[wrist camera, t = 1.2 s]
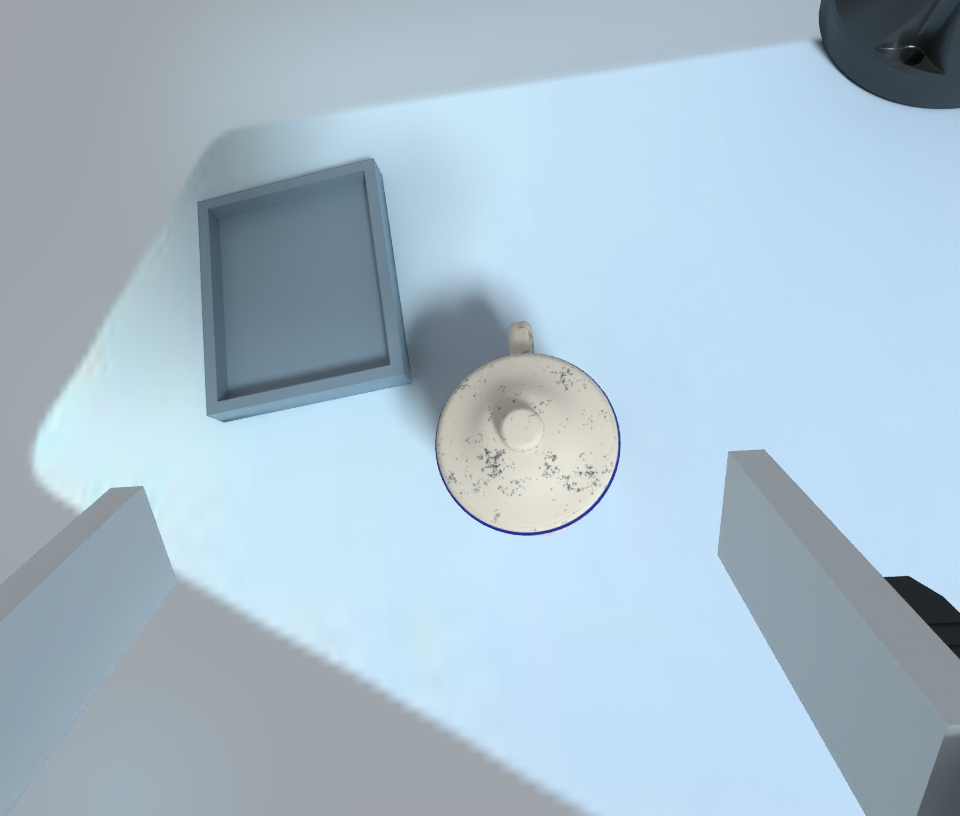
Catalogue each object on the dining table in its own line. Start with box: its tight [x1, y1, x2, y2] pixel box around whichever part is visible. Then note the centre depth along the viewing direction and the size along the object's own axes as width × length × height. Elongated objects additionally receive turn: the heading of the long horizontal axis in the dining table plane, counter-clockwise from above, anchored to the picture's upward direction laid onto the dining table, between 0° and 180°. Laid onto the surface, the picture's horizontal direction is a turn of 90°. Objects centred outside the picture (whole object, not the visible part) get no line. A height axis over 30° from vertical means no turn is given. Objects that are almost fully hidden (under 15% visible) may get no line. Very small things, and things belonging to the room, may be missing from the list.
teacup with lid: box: [435, 322, 621, 536], centre depth 32 cm, size 12×9×12 cm
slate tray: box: [198, 158, 412, 422], centre depth 41 cm, size 14×17×2 cm
